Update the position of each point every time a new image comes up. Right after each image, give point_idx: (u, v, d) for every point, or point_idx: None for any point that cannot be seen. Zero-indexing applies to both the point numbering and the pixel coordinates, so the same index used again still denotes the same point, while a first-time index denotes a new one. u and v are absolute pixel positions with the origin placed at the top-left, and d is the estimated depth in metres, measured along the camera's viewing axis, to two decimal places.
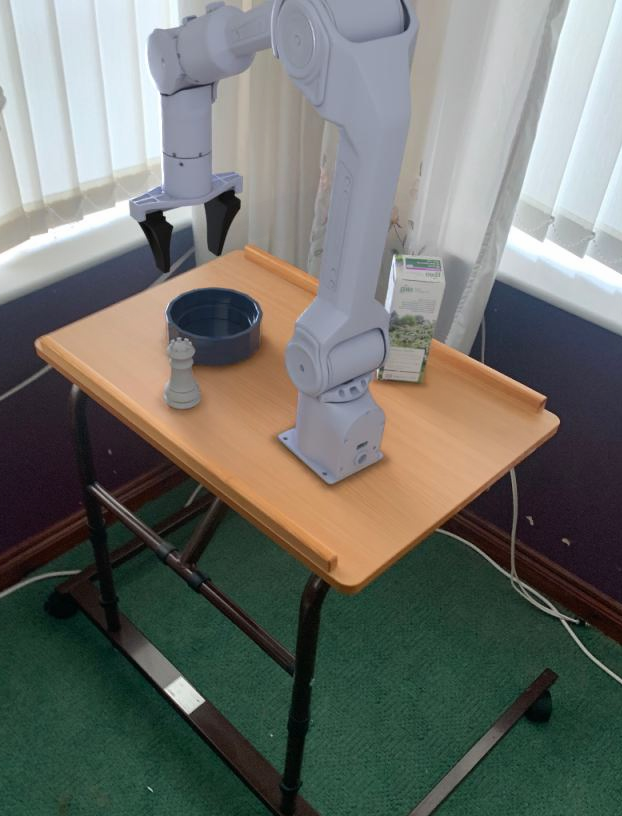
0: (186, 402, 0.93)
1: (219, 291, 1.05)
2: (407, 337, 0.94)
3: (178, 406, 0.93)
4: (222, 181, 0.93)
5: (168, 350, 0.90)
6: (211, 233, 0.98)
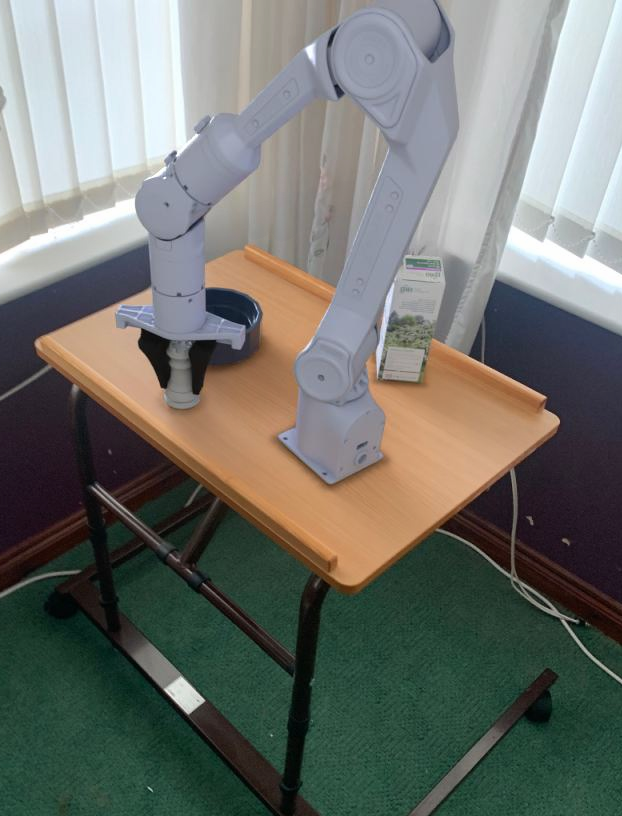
0: (186, 402, 0.93)
1: (219, 291, 1.05)
2: (407, 337, 0.94)
3: (178, 406, 0.93)
4: (217, 329, 0.86)
5: (168, 350, 0.90)
6: None
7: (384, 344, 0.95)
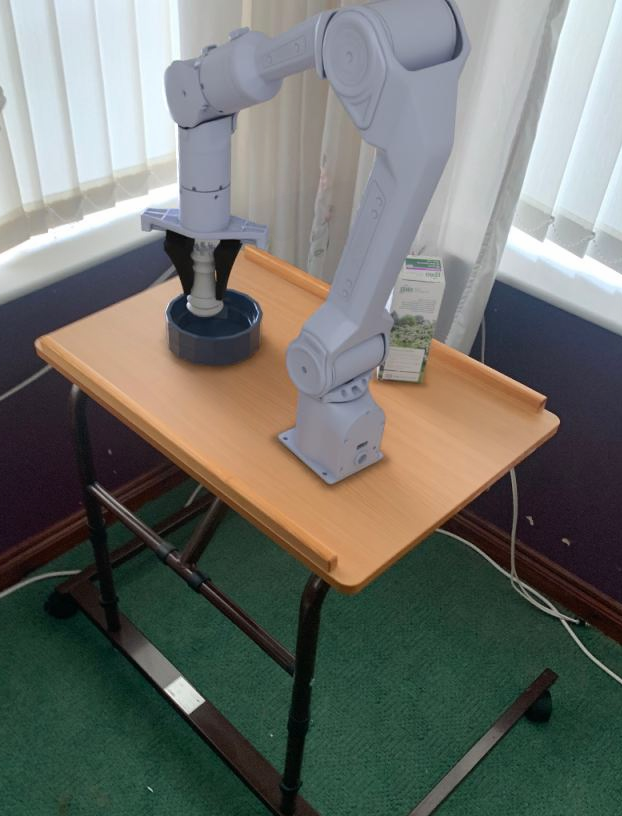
0: (209, 308, 0.94)
1: None
2: (407, 337, 0.94)
3: (201, 313, 0.95)
4: (242, 229, 0.87)
5: (192, 254, 0.91)
6: None
7: None
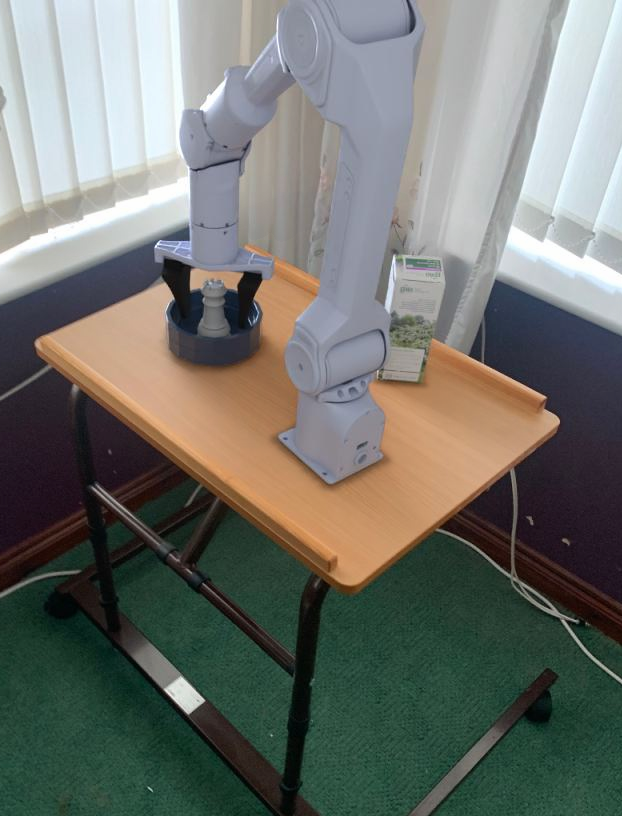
0: None
1: None
2: (407, 337, 0.94)
3: None
4: (249, 261, 0.94)
5: (202, 289, 0.98)
6: None
7: None
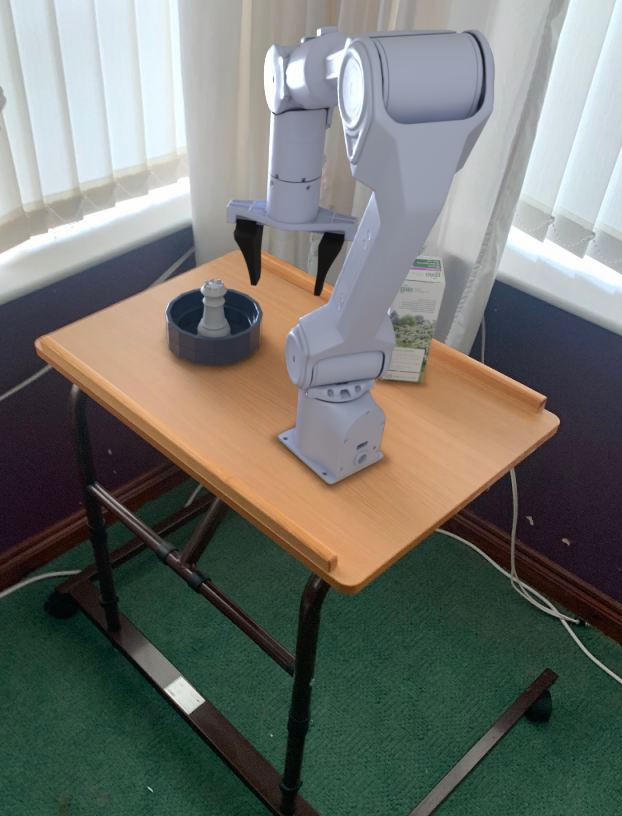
0: None
1: None
2: (407, 337, 0.94)
3: None
4: (331, 220, 0.86)
5: (202, 289, 0.98)
6: None
7: None
